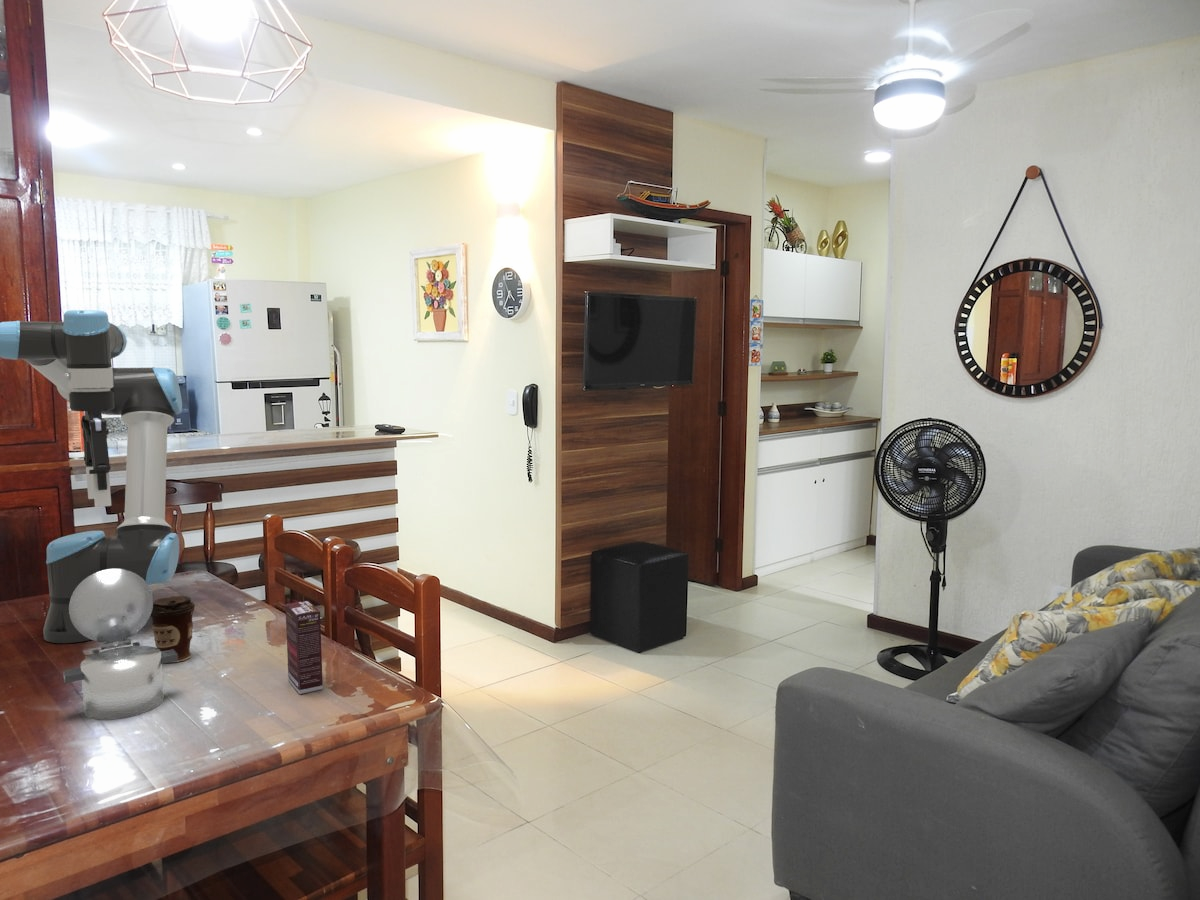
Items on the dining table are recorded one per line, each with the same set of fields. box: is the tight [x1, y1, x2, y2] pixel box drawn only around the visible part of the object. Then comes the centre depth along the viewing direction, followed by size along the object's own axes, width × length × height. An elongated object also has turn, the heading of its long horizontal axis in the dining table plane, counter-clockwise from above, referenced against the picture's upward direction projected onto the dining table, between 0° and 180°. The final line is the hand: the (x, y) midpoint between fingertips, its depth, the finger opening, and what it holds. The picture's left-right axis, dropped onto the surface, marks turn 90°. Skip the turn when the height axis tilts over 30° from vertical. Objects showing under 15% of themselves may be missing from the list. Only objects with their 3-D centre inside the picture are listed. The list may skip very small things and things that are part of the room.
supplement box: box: [285, 600, 324, 695], centre depth 165 cm, size 9×5×16 cm, turn 34°
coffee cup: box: [150, 595, 195, 664], centre depth 179 cm, size 9×8×13 cm
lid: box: [69, 569, 154, 651], centre depth 162 cm, size 15×14×4 cm
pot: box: [62, 641, 178, 721], centre depth 157 cm, size 14×18×9 cm
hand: (99, 502), depth 167 cm, fingers open, 10 cm apart
